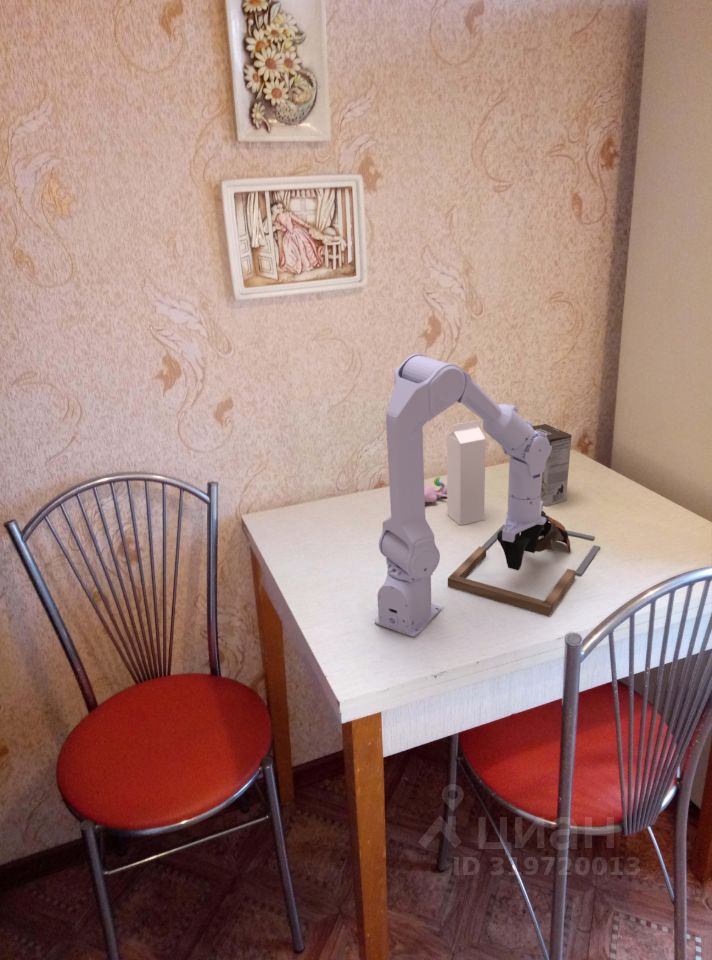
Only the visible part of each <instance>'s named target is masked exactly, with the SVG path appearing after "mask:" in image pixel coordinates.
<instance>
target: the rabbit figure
mask: <svg viewBox="0 0 712 960" xmlns="http://www.w3.org/2000/svg"><path fill="white" fill-rule="evenodd" d="M440 479H441V477H439V476H438V477H435V479H434V480H433V484H434V486H437V487H439V489H437V490H435V489H436V487H434V486H433V487H432V486H428V485H426V486H425V485H424V494H425V503H435V502H436V501H437V500H438V498H442V497H444V498H447V484H444V483H443V482H442V481H440Z"/></svg>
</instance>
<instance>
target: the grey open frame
mask: <svg viewBox="0 0 712 960" xmlns="http://www.w3.org/2000/svg"><path fill="white" fill-rule="evenodd" d="M504 528H505V524H502V525H501V526H500V527H499V529H498V530H496V531H495V532H494V534H492V536H490V538H489V539H488V540H486V542H484V544H483V545H482V546H481V547H483V548H486V551H488V549H489V548H491V546H492V545H493V544H494V543H495V542H496V541H498V540H497V534H498V533H499V532H500V531H501V530H503V529H504ZM565 530H566V531H567V534H568V536H570V537H575V538H578V539H579V538H580V539H583V540H588V541H594V540H595V536H594V535H589V534H584V533H581V532H577V531H572V530H567V529H565ZM600 549H601V546H599V545H597V544H596V545H595V544H593V546H592V547H591V549H590V550H589V552H588V553H587V555H586V556H585V557H584V559H583V560H582V562H581V563H580V564H579V565H578V566H577V568H576V570H575V571H576V573H575V576H577V577H582V575H583V574H584V572H585V571H586V570H587V568H588V567H589V565H590V564H591V562H592V560H593V559H594V558H595V556H596V555H597V554H598V552H599V551H600Z"/></svg>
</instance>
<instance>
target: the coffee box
mask: <svg viewBox="0 0 712 960" xmlns="http://www.w3.org/2000/svg"><path fill="white" fill-rule="evenodd" d="M532 428H533V429H534V430H535V431H537V432H540V433H543V434H545V435H546V436H547V438H548V441H549V443H550V446H552V450H551V453H550V455H549V457H548V459H547V461H546V465H545V469H544V472H543V473H542V488H541V501H543V506H544V507H548V506H551V505H554V504H558V503H562V502H565V501H567V492H568V491H567V490H568V482H569V481H568V479H569V470H570V459H571V458H570V456H571V446H572V445H571V444H572V436H573V435H572V434H571V433H568V432H566V431H563V430H562V429H561V430H560V429H559V428H556V427H553V426H551V425H549V424H547V423H543V424H539V425H532Z"/></svg>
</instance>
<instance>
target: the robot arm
mask: <svg viewBox="0 0 712 960" xmlns="http://www.w3.org/2000/svg"><path fill="white" fill-rule="evenodd" d="M393 380H394V381H393V382H394V387H393V390H392V393H391V396H390V399H389V403H388V406H387V410H386V413H385V426H386V427H385V428H386V443H387V444H386V445H387V448H386V449H387V465H388V466H387V467H388V483H389V485H388V486H389V499H390V501H389V502H390V504H389V505H390V516H388V518H385V520H384V521H382V532H381V536H380V537H379V541H378V548H379V549H378V550H379V553H381V555H383V557H385V560H386V566H387V571H386V572H387V573H386V574H387V575H386V578H385V581H384V583H383V584H382V586H381V587H380V588H379V589H378V592H377V609H378V610H377V611H378V613H377V614H378V617H376V618H375V619H374V624H375V625H379V626H381V627H383V628H387V629H390V630H393V631H395V632H398V633H401V634H404V635H407V636H410V637H414V638H415V637H416V636H418V635H419V634H420V633H421V631H422V630H424V628H426V626H427V625H428V624H429V623H430V622H431V621H432V619H434V617H435V616H436V615H438V613H439V612H440V611H441V610H442V607H441V606H440V605H437V604H434V603H432V576H433V574H434V572H435V571H436V569H437V568H438V566H439V563H440V558H441V557H440V556H441V554H440V550H439V548H438V547H437V545H436V542H435V534H434V531H433V529H432V528H431V527H430V524H429V523H428V521H427V519H426V506H425V505H426V502H425V494H424V486H425V470H424V469H425V468H424V467H425V466H424V464H425V463H424V437H423V435H424V434H423V427H424V425H426V423H428V422H429V421H431V420H433V419H435V417H438V415H440V414H441V413H443V412H445V411H446V410H447V409H449V408H450V407H452V406H453V405H455V404H456V403H458V404H461V405H463V406H465V408H466V409H468V410H470V411H471V412H472V413H473V414H474V415H476V416H477V417H479V418H480V419H481V420H482V429H483V430H484V432H485V433H486V434H487V435H489V436H490V437H491V438H492V439H493V440H494V441H496V442H497V443H498V444H499V445H500V446H501V447H502V448H501V449H502V451H503V453H504V455H508V456H509V459H508V461H509V462H508V463H509V465H508V488H507V489H508V491H507V493H508V495H507V512H506V515H505V522H504V525H505V528H504V529H503V530H501V531H500V532H499V533H498V534H497V540H496V541H498V543H499V544H500V546H501V548H502V550H503V552H504V553H503V554H504V556H505V560H506V565H507V568H508V569H511V570H515V571H519V570H520V569H521V567H522V563H523V559H524V558H523V557H524V555H525V552H527V553H531V554H535V552H534V551H535V549H536V546H537V542H538V539H540V537H539V536H540V533H541V531H542V528H543V526H544V525H545V523H546V522H547V520H548V517H547V516H548V515H547V514H546V515H547V516H546V515H542V514H541V511H544V510H543V509H544V508H543V506H544V505H543V501H541V488H542V473H543V472H544V469H545V465H546V461H547V459H548V457H549V455H550V453H551V450H552V446H550V443H549V441H548V438H547V436H546V435H545V434H543V433H540V432H537V431H535V430H534V429H533V428H532V426H534V425H533V423H532V422H531V421H529V420H526V419H524V418H523V417H522V416H521V415H520V414H519V413H518V412H519V408H518V407H516V406H515V405H512V404H509V403H508V404H505V403H498V404H497V403H496V401H494V400H493V399H492V398H491V397H490V396H489V395H488V393H487V392H486V391H485V390H484V389H483V388H481V386H480V385H479V384H478V383H477V382H476V381H475V380H474V379H473V378H472V376H471V374H470V373H468V372H467V371H464V370H463V369H462V367H460V366H459V365H457V364H455V363H447V362H444V361H441V360H438V359H434V358H431V357H427V356H426V355H424V354H422V353H421V354H420V353H414V354H411V355H409V356H408V357H406V358H405V359H403V362H402V363H400V364H399V366H398V367H397V368H396V369H395V371H394V372H393ZM520 532H521V533H520ZM520 534H521V535H520Z"/></svg>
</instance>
